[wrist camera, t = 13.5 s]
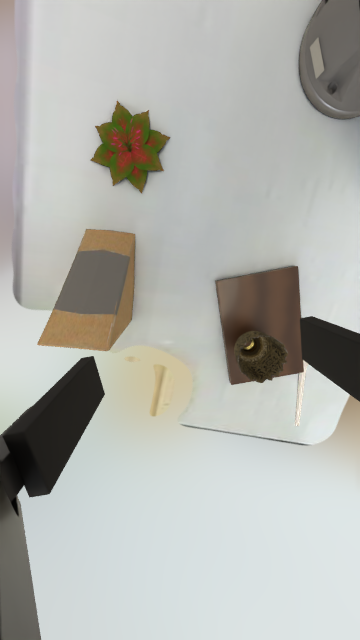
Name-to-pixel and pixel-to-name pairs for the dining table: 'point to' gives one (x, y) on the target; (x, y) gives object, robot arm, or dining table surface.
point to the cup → (260, 356)
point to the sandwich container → (95, 294)
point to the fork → (300, 394)
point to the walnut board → (261, 314)
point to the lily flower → (129, 147)
